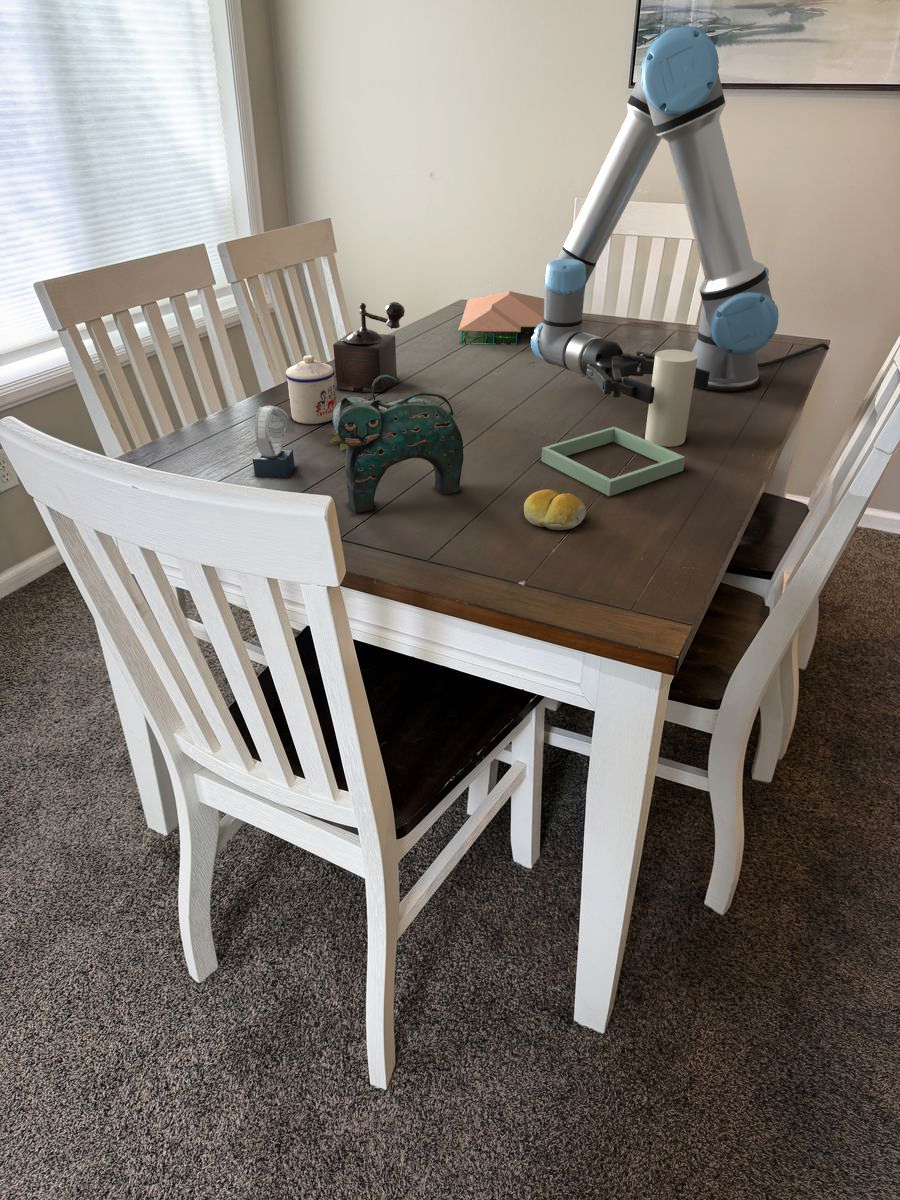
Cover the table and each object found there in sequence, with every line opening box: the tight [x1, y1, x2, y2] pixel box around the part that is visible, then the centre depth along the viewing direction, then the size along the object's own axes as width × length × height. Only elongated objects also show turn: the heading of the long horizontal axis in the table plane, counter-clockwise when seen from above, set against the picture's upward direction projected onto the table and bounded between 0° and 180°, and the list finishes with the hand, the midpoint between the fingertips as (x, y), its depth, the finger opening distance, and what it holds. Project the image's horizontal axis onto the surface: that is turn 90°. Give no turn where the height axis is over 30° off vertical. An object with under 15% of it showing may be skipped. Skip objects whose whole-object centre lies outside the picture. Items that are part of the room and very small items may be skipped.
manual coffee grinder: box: [332, 301, 406, 393], centre depth 170 cm, size 16×11×18 cm
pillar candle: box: [644, 349, 698, 448], centre depth 144 cm, size 7×7×15 cm
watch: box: [252, 405, 296, 479], centre depth 135 cm, size 6×8×11 cm
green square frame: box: [541, 426, 686, 497], centre depth 138 cm, size 17×17×2 cm
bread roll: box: [523, 489, 587, 531], centre depth 122 cm, size 8×9×4 cm
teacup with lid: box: [285, 354, 337, 425], centre depth 157 cm, size 12×9×12 cm
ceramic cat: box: [332, 375, 465, 514], centre depth 124 cm, size 20×6×20 cm, turn 114°
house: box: [457, 290, 545, 345], centre depth 209 cm, size 23×33×8 cm
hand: (680, 387), depth 142 cm, fingers open, 13 cm apart
